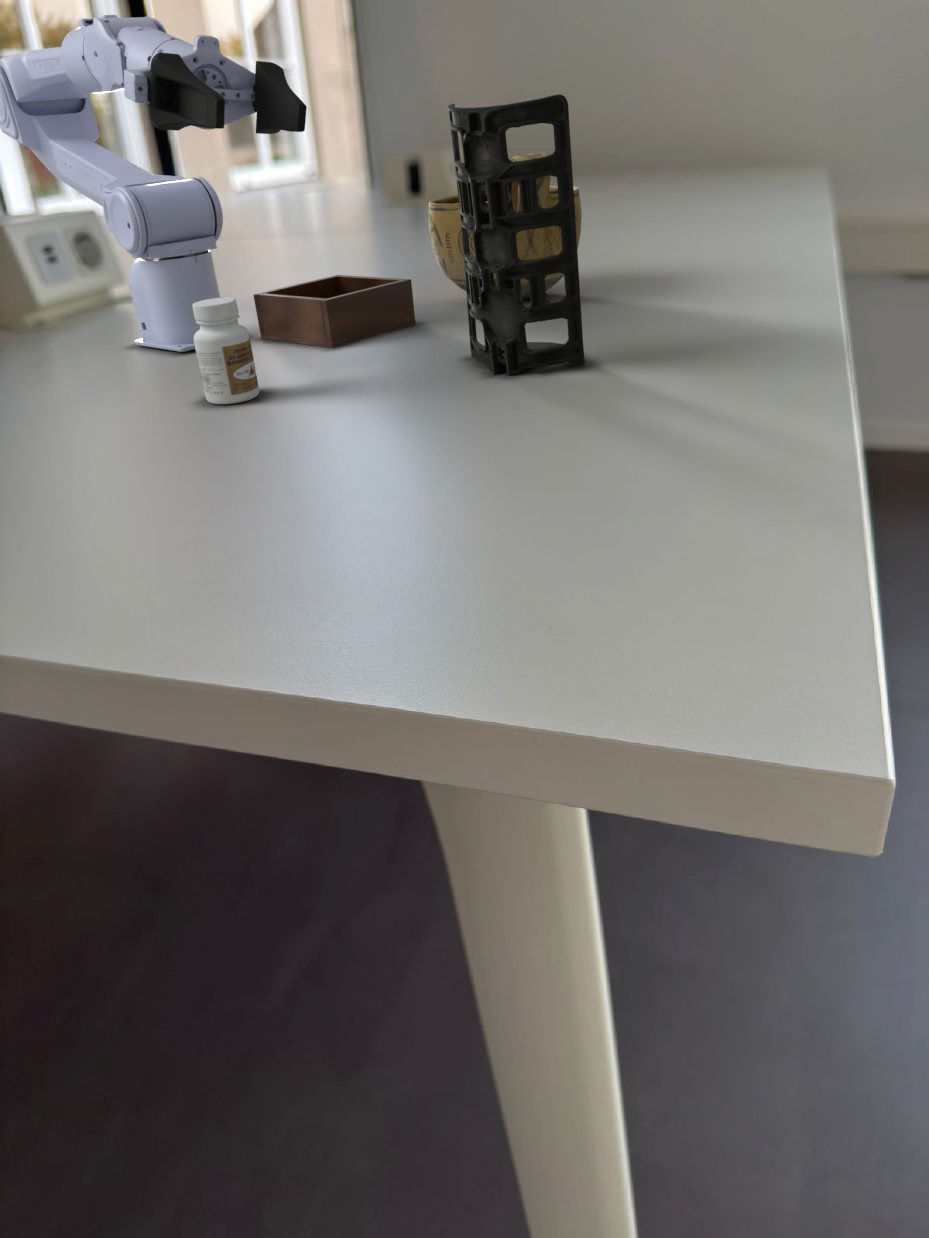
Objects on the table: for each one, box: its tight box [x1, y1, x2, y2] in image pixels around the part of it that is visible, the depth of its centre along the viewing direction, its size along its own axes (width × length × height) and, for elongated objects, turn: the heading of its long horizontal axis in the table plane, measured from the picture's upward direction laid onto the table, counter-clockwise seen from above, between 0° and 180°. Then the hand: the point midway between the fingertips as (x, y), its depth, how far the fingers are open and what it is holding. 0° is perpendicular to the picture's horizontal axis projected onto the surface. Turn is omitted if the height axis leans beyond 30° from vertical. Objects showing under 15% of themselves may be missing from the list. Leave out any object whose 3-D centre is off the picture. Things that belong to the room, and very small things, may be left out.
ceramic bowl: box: [428, 151, 582, 300], centre depth 105 cm, size 22×17×15 cm
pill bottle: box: [192, 296, 260, 405], centre depth 76 cm, size 4×4×8 cm
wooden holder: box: [253, 274, 417, 349], centre depth 98 cm, size 12×12×4 cm
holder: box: [447, 93, 586, 376], centre depth 74 cm, size 11×8×20 cm
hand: (262, 116), depth 76 cm, fingers open, 7 cm apart
